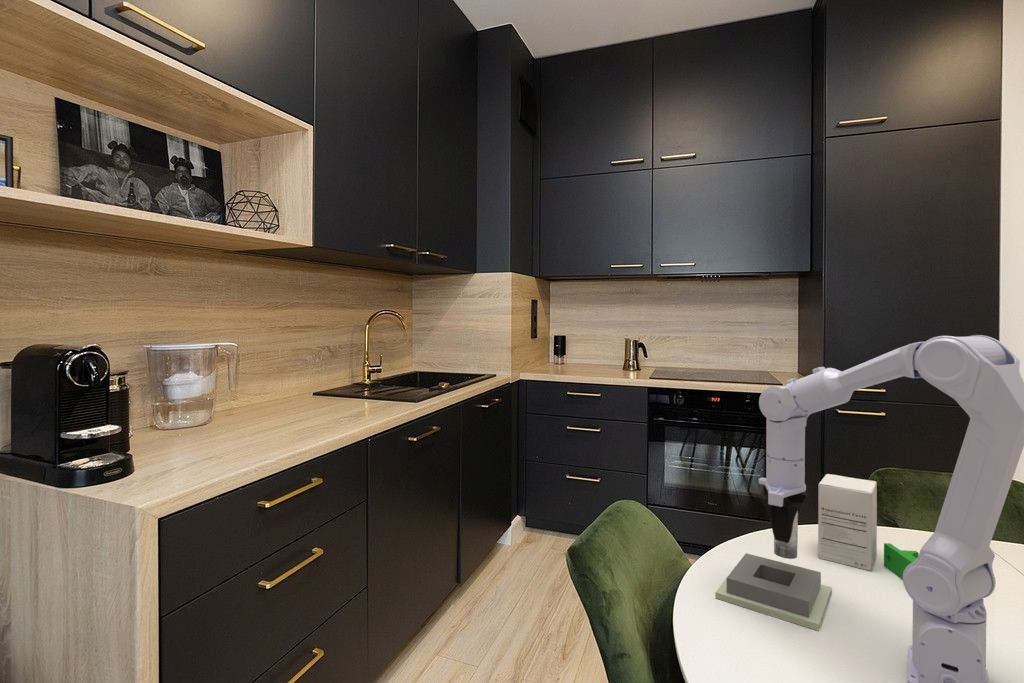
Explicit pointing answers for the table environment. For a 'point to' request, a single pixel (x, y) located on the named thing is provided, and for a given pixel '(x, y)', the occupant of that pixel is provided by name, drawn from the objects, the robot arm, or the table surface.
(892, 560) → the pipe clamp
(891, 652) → the table surface
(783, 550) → the silver metal cylinder
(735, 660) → the table surface
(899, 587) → the table surface
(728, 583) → the dock
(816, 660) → the table surface
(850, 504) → the supplement box
